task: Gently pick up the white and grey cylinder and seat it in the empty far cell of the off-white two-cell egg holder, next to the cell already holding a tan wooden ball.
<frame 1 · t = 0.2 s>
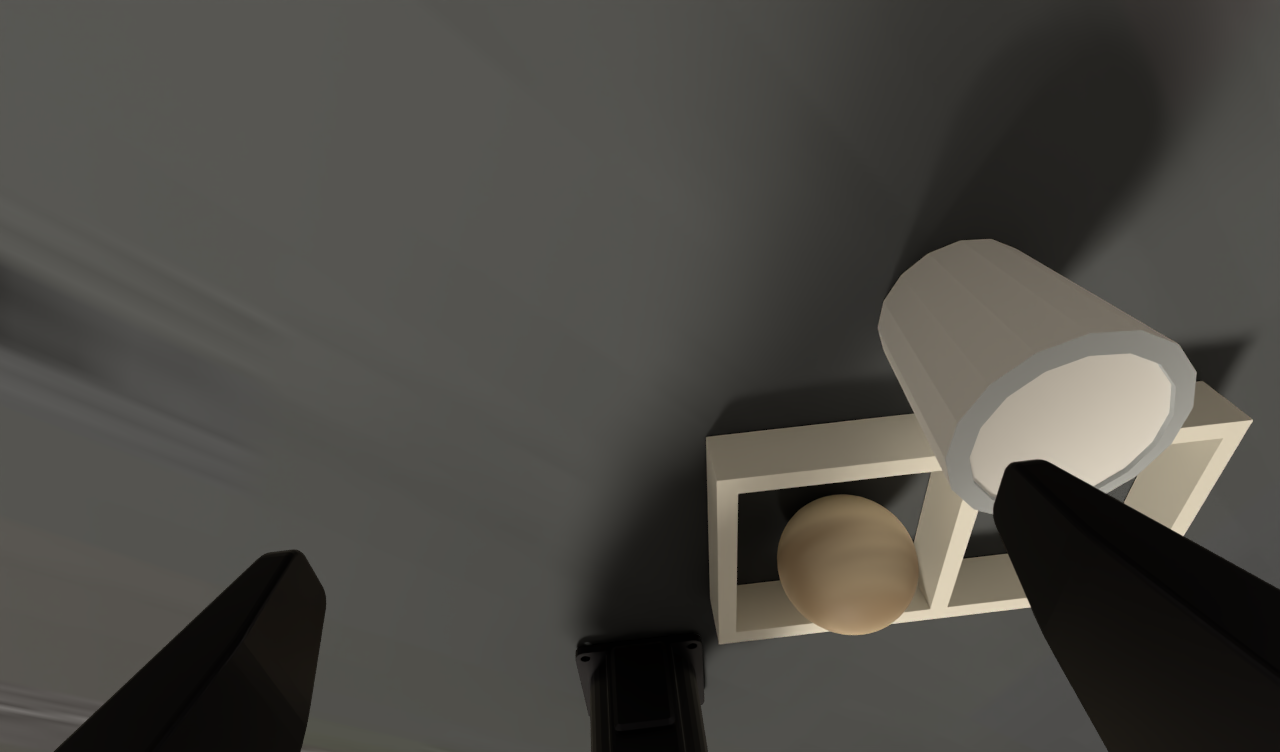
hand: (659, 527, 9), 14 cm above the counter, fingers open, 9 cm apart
egg holder: (932, 500, 30), on the counter
tan wooden ball: (825, 512, 30), resting in egg holder
white and grey cylinder: (952, 307, 24), on the counter
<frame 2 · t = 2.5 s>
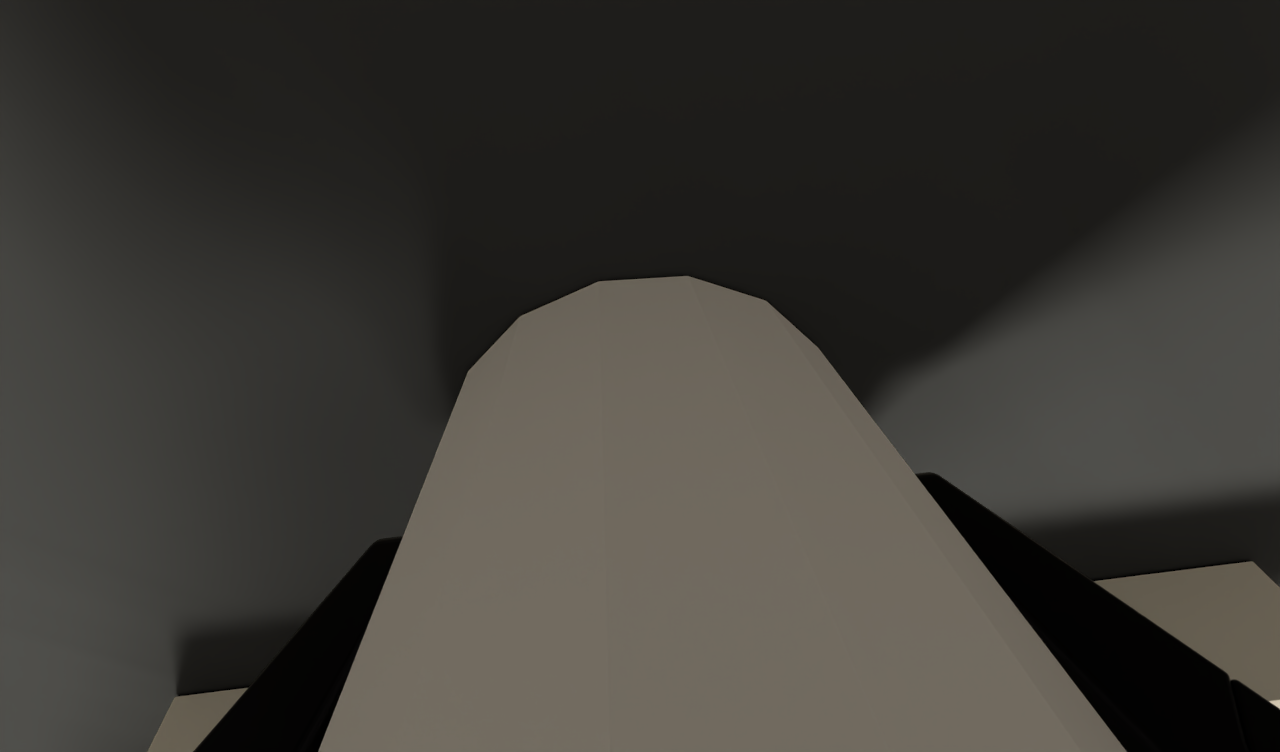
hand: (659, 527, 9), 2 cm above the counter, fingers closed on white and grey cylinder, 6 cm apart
white and grey cylinder: (646, 438, 10), on the counter, touching gripper
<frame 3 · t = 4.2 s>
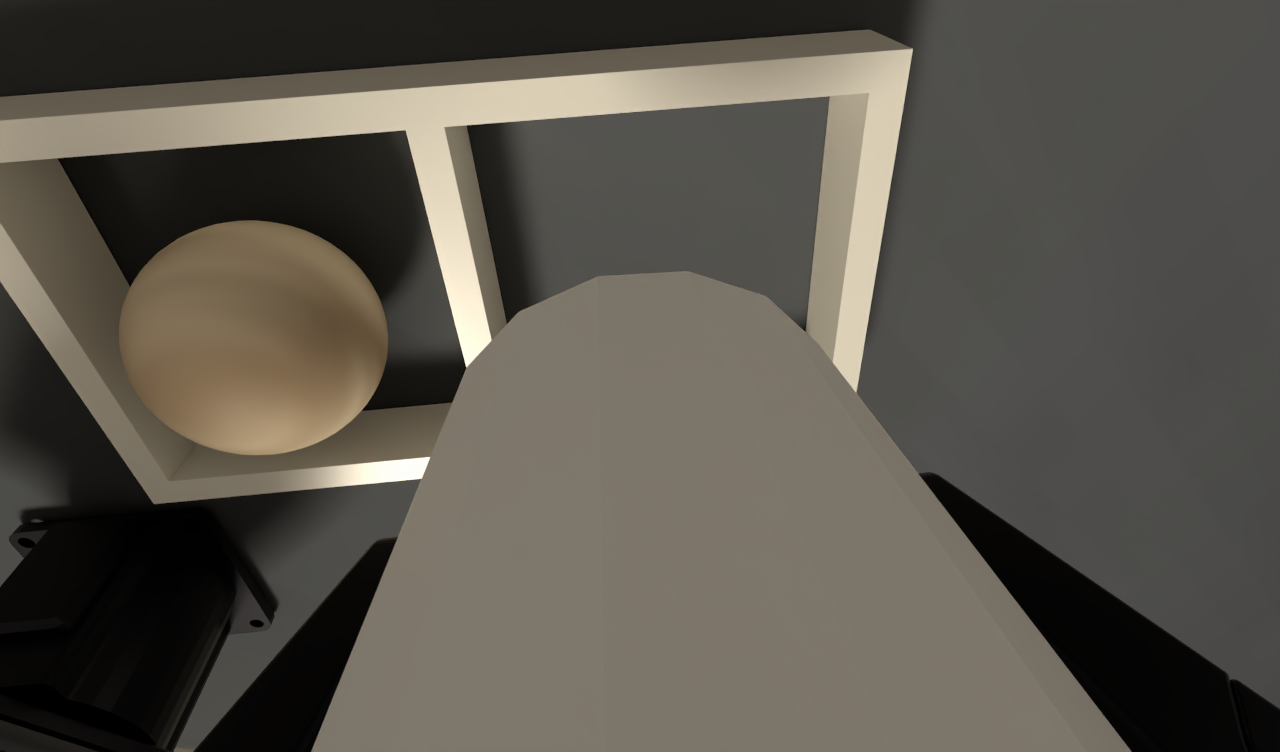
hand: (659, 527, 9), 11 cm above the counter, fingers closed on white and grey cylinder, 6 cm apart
egg holder: (481, 269, 19), on the counter
tan wooden ball: (303, 284, 18), resting in egg holder
white and grey cylinder: (646, 435, 10), point 10 cm above the counter, touching gripper
when the fingers open (3 cm above the counter, at t = 6.3 s): white and grey cylinder drops 2 cm, resting in egg holder.
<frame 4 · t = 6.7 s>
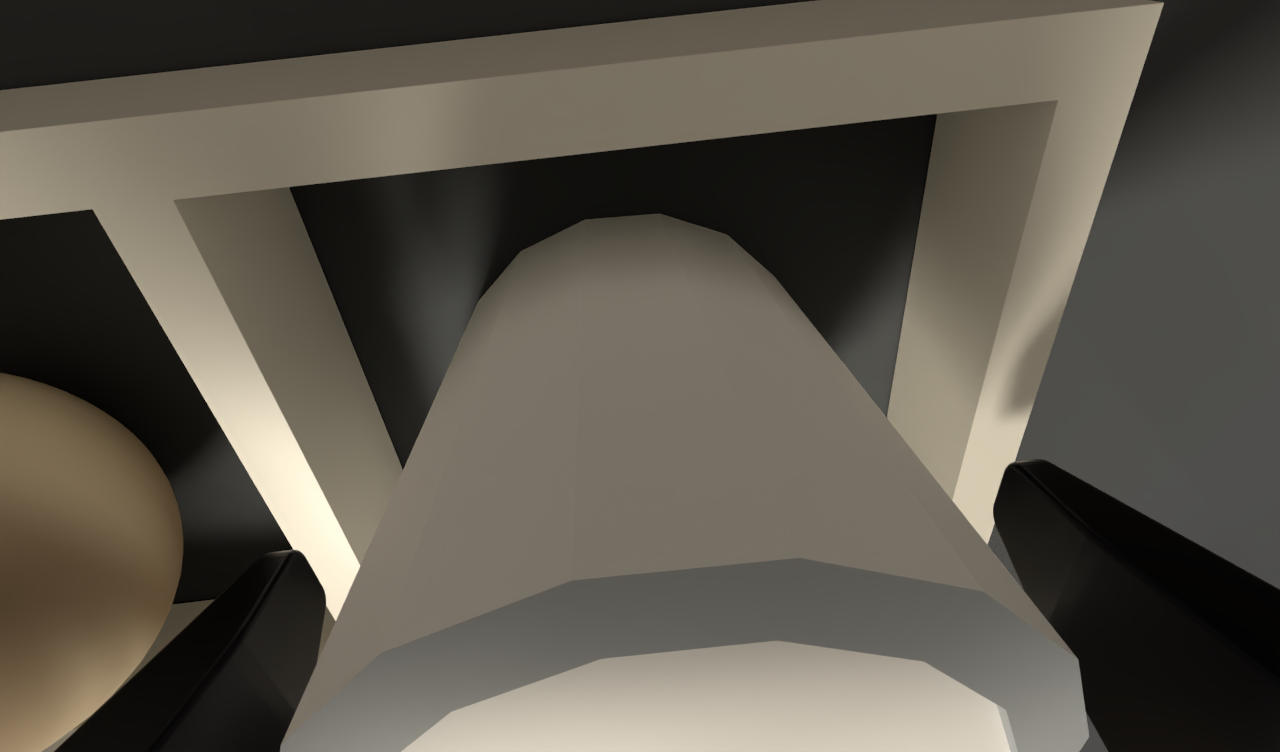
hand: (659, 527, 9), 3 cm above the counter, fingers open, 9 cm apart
egg holder: (351, 404, 11), on the counter
tan wooden ball: (60, 438, 11), resting in egg holder
white and grey cylinder: (632, 363, 12), resting in egg holder
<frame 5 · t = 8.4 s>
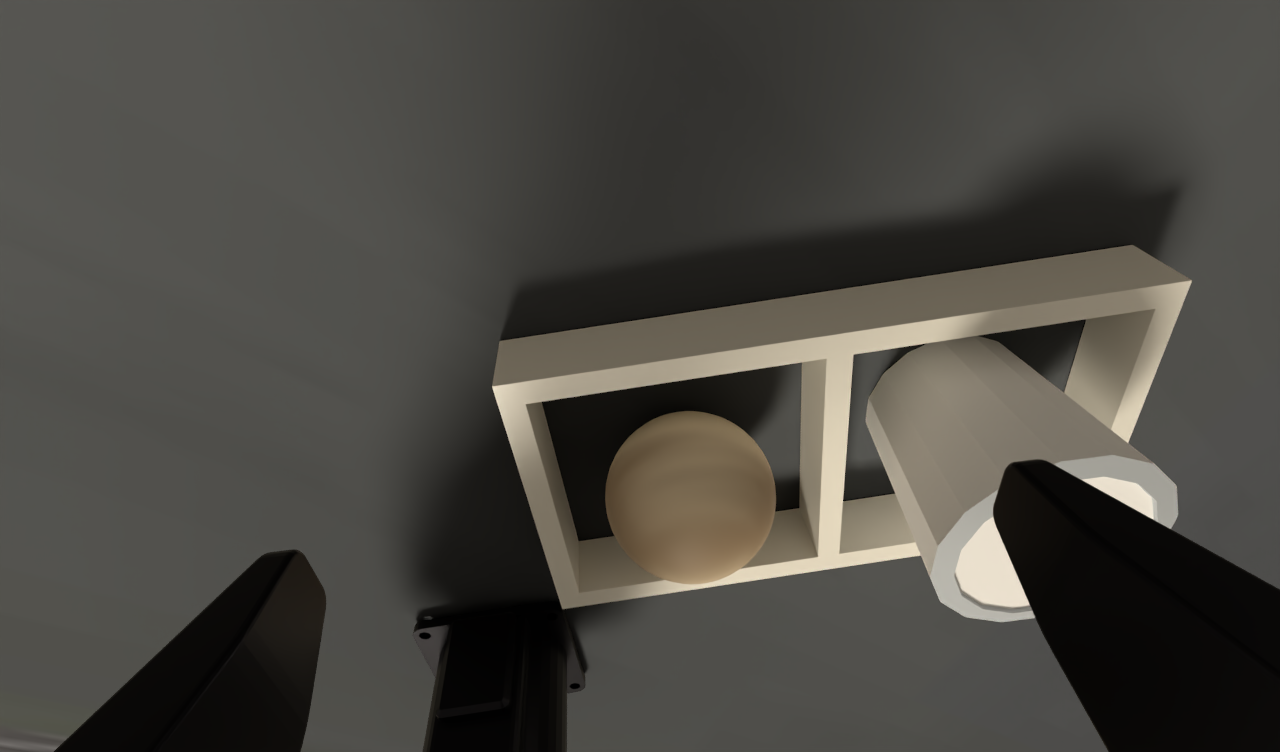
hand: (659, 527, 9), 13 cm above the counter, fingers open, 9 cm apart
egg holder: (811, 420, 24), on the counter
tan wooden ball: (678, 440, 24), resting in egg holder
white and grey cylinder: (939, 397, 25), resting in egg holder
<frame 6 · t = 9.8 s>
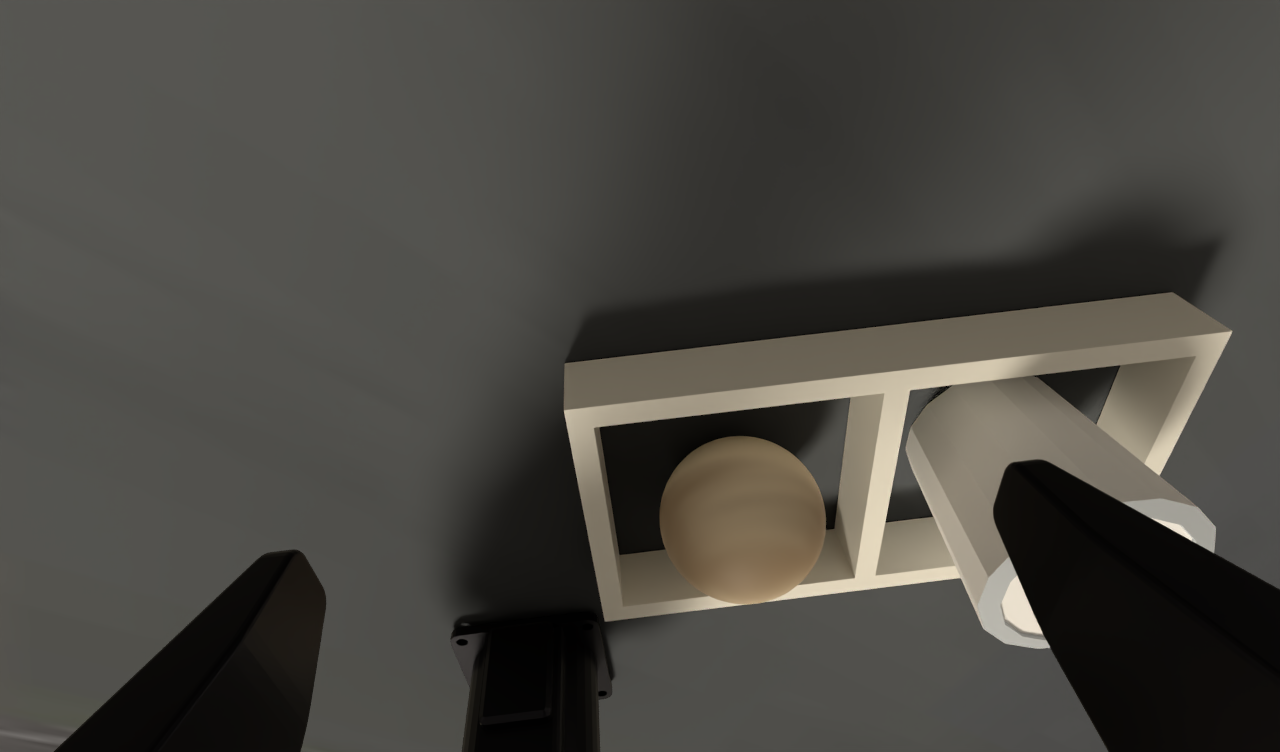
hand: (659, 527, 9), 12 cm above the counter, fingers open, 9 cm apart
egg holder: (854, 446, 25), on the counter
tan wooden ball: (725, 462, 25), resting in egg holder
white and grey cylinder: (976, 427, 26), resting in egg holder
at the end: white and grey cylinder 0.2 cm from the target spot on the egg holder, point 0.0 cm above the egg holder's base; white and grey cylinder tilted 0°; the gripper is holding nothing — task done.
